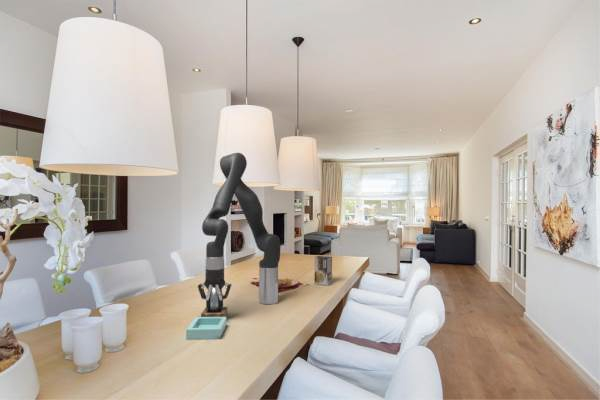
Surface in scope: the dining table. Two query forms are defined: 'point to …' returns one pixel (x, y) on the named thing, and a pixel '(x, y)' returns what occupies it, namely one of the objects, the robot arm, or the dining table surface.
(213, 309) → the pin
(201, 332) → the tray
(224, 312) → the holder
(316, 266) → the coffee box
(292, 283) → the plate with food
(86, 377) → the dining table surface
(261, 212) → the robot arm
